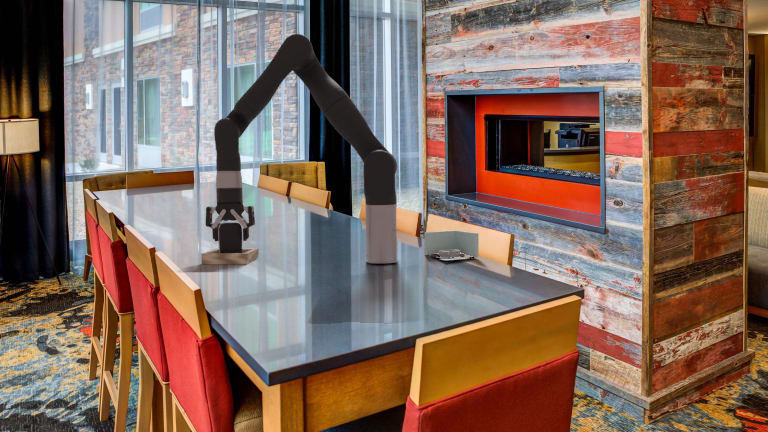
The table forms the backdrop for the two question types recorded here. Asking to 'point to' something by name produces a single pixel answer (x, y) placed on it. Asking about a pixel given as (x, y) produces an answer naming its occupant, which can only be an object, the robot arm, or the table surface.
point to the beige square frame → (229, 257)
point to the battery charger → (229, 237)
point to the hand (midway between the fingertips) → (230, 240)
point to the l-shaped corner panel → (452, 243)
